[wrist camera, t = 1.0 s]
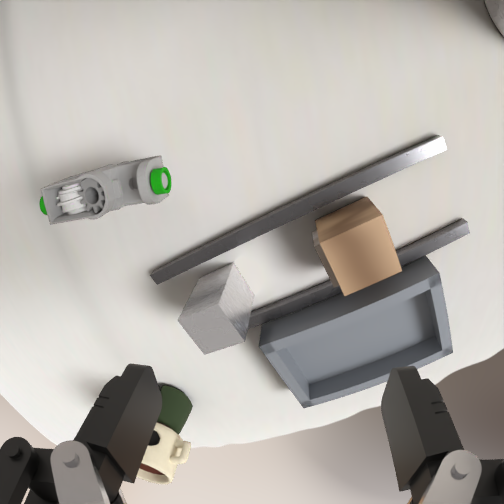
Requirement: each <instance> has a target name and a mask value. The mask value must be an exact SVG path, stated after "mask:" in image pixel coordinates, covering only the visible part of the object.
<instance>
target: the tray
mask: <svg viewBox="0 0 504 504" xmlns="http://www.w3.org/2000/svg"><path fill="white" fill-rule="evenodd" d="M401 269H402V271H401V272H399V273H397V274H395V275H392V276H390V277H388V278H386V279H384V280H381V281H379V282H377V283H374V284H372V285H370V286H368V287H365V288H363V289H361V290H358V291H356V292H354V293H351V294H349V295H346V296H344V294H343V293H341V294H339V295H336V296H334V297H331V298H329V299H326V300H324V301H322V302H319V303H317V304H314V305H312V306H309V307H306V308H304V309H301V310H299V311H296V312H294V313H291V314H288V315H286V316H283V317H281V318H278V319H275V320H273V321H270V322H267V323H264V324H262V329H261V335H260V342H259V347H260V349H261V350H262V352H263V353H264V355H265V356H266V357H267V359H268V360H269V362H270V363H271V364H272V366H273V367H274V368H275V370H276V371H277V373H278V374H279V375H280V377H281V378H282V379H283V381H284V382H285V384H286V385H287V386H288V388H289V389H290V390H291V392H292V393H293V394H294V396H295V397H296V398H297V400H298V401H299V402H300V404H301V405H302V406H303V408H307V407H310V406H314V405H318V404H321V403H324V402H328V401H331V400H334V399H338V398H341V397H344V396H347V395H350V394H353V393H356V392H359V391H362V390H365V389H368V388H370V387H373V386H376V385H379V384H381V383H384V382H386V381H388V378H389V375H390V372H391V370H392V368H397V367H406V366H415V367H416V369H418V368H421V367H423V366H425V365H427V364H430V363H432V362H434V361H436V360H438V359H440V358H443V357H445V356H447V355H449V354H451V353H453V349H452V341H451V334H450V327H449V321H448V314H447V309H446V303H445V298H444V293H443V288H442V283H441V278H440V274H439V272H438V271H437V269H436V268H435V267H434V265H433V264H432V263H431V262H430V260H429V259H428V258H427V257H426V256H424V257H422V258H419V259H417V260H415V261H413V262H411V263H409V264H407V265H405V266H402V267H401Z"/></svg>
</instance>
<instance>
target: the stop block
mask: <svg viewBox="0 0 504 504" xmlns="http://www.w3.org/2000/svg"><path fill="white" fill-rule="evenodd" d="M253 300H254V294H253V292H252V291H251V289H250V287H249V286H248V284H247V283H246V281H245V279H244V278H243V276H242V275H241V273H240V271H239V270H238V268H237V267H236V265H235V263H231V264H229V265H227V266H225V267H223V268H220V269H218V270H216V271H214V272H212V273H209V274H207V275H205V276H203V277H201V278H199V280H198V282H197V284H196V286H195V288H194V289H193V291H192V293H191V295H190V297H189V299H188V301H187V303H186V305H185V307H184V309H183V311H182V313H181V315H180V316H179V318H178V322H179V323H180V324H181V325H182V327H183V328H184V329H185V331H186V332H187V333H188V334H189V336H190V337H191V338H192V339H193V341H194V342H195V343H196V344H197V346H198V347H199V348H200V349H201V351H202V352H203V353H204V354H208V353H211V352H214V351H217V350H220V349H224V348H227V347H230V346H233V345H236V344H239V343H242V342H245V338H246V333H247V328H248V324H249V319H250V314H251V309H252V304H253Z"/></svg>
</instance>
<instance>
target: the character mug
mask: <svg viewBox="0 0 504 504" xmlns="http://www.w3.org/2000/svg"><path fill="white" fill-rule="evenodd" d="M161 395H162V409H161V412H160V415H159V417H158V420H157V423H156V425H155V428H154V431H153V433H152V436H151V438H150V441H149V444H148V446H147V449H146V452H145V455H144V457H143V460H142V463H141V465H140V468H139V471H138V474H137V476H136V477H138V478H141V479H143V480H146V481H149V482H152V483H157V484H169V483H171V482H172V480H173V477H174V474H175V471H176V468H177V464H184V463H186V461H187V459H188V456H189V452H190V449H191V443H190V442H187V441H183V440H182V439H181V437H180V436H179V435H178V434H179V433H180V432H181V430H182V428H183V426H184V424H185V422H186V421H187V418H188V416H189V414H190V412H191V410H192V407H193V406H192V404H191V401H190V400H189V398H188V397H187V396H186V395H185V394H184V393H183V392H182V391H180V390H178V389H176V388H174V387H170V386H165V385H164V386H163V387H162V389H161Z"/></svg>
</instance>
